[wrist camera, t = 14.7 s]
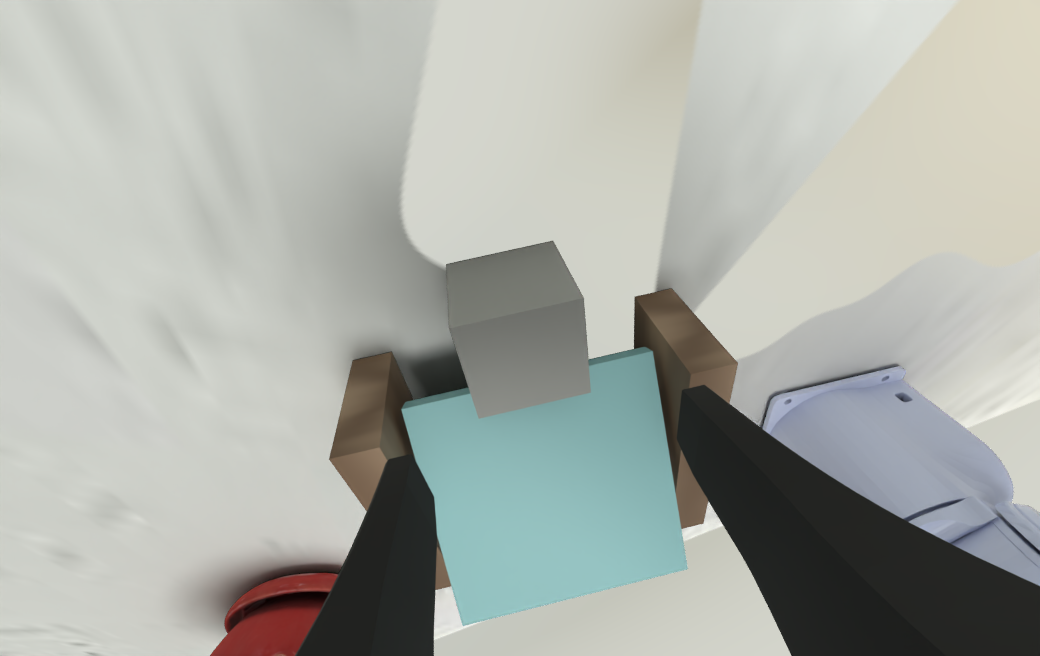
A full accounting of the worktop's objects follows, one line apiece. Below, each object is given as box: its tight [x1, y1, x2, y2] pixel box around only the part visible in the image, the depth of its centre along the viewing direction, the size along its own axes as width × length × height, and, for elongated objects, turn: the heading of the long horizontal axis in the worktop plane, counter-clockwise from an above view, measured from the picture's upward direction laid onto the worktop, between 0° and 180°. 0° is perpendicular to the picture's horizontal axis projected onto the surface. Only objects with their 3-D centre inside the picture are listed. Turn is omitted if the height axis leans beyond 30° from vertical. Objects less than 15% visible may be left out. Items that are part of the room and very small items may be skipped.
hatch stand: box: [329, 289, 738, 590], centre depth 24 cm, size 17×15×6 cm
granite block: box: [446, 241, 591, 419], centre depth 19 cm, size 5×5×5 cm
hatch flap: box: [401, 347, 687, 626], centre depth 22 cm, size 12×12×3 cm
